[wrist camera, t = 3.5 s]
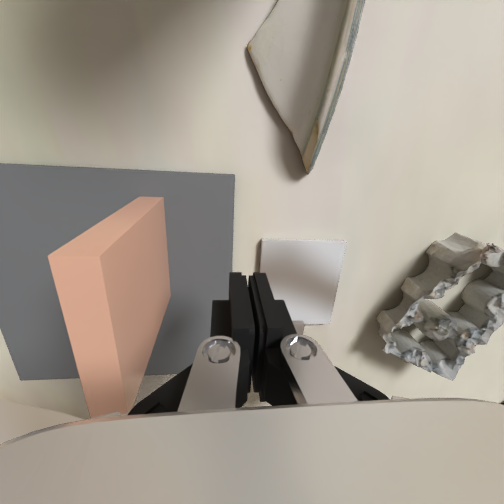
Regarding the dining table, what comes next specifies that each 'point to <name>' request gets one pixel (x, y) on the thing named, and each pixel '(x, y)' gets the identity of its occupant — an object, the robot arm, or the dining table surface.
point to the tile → (115, 300)
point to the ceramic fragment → (306, 64)
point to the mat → (83, 218)
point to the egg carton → (452, 323)
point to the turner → (303, 276)
